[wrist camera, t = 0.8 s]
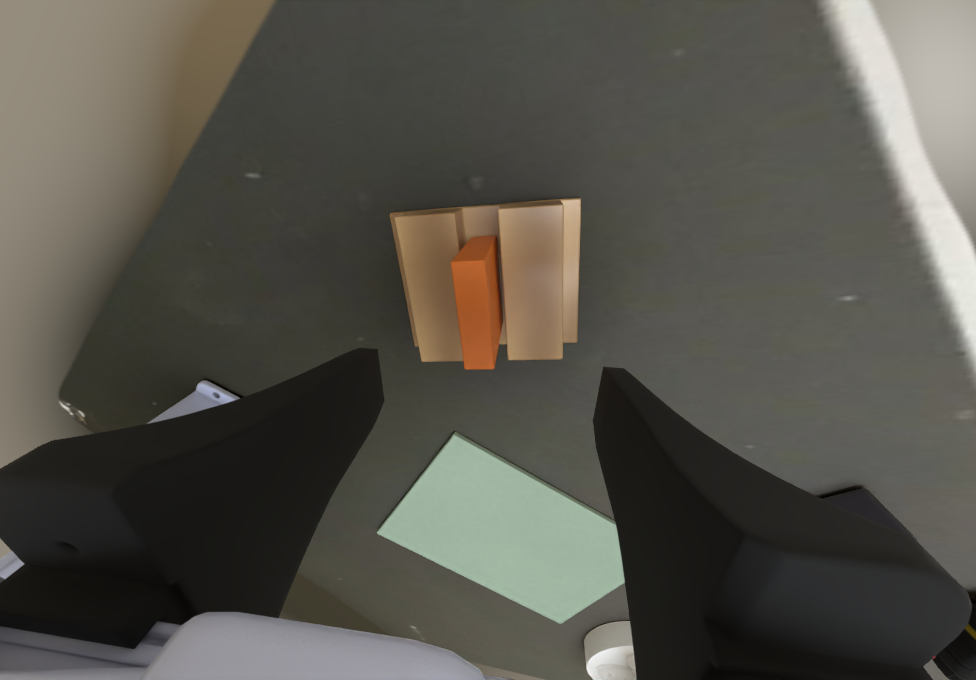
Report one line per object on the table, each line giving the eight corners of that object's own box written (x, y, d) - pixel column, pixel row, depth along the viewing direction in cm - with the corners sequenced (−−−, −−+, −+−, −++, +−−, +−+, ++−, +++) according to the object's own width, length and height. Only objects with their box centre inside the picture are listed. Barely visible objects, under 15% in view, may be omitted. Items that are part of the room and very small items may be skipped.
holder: (417, 342, 23) (404, 362, 21) (392, 212, 20) (373, 218, 17) (576, 338, 22) (581, 359, 19) (579, 197, 18) (586, 202, 16)
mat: (378, 529, 32) (376, 533, 32) (455, 431, 26) (454, 434, 26) (560, 619, 35) (560, 624, 35) (666, 549, 29) (668, 554, 29)
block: (479, 322, 21) (464, 370, 16) (471, 236, 19) (450, 262, 14) (503, 322, 21) (494, 369, 16) (497, 235, 19) (484, 259, 14)
